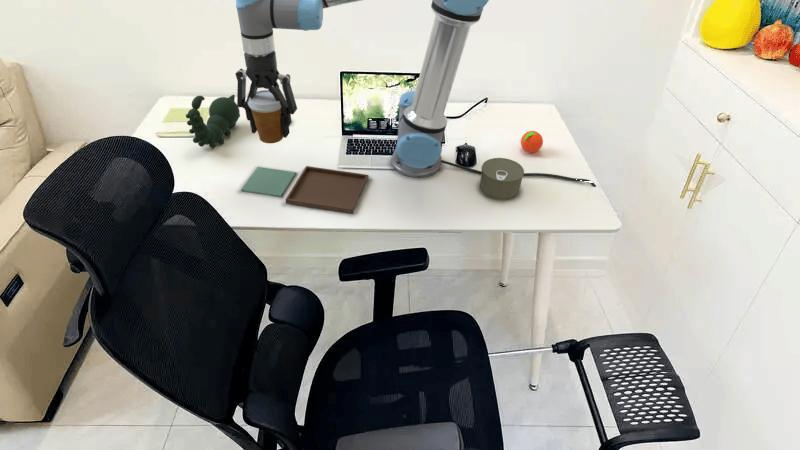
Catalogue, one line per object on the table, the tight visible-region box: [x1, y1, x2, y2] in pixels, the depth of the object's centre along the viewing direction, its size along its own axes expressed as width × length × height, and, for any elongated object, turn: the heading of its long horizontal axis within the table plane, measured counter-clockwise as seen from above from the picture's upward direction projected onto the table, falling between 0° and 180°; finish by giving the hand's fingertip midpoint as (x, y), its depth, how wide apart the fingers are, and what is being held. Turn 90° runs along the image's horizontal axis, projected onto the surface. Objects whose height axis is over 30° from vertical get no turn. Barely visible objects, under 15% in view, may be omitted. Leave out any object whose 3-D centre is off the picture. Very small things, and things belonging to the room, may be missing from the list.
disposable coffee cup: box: [248, 89, 284, 144], centre depth 143 cm, size 10×10×12 cm
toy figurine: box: [185, 94, 241, 149], centre depth 170 cm, size 9×19×25 cm
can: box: [479, 157, 525, 201], centre depth 155 cm, size 12×12×7 cm
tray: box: [285, 165, 369, 215], centre depth 154 cm, size 19×17×2 cm
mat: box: [240, 166, 297, 198], centre depth 157 cm, size 12×12×1 cm
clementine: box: [520, 130, 544, 154], centre depth 172 cm, size 8×7×7 cm
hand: (270, 132), depth 146 cm, fingers closed on disposable coffee cup, 8 cm apart
